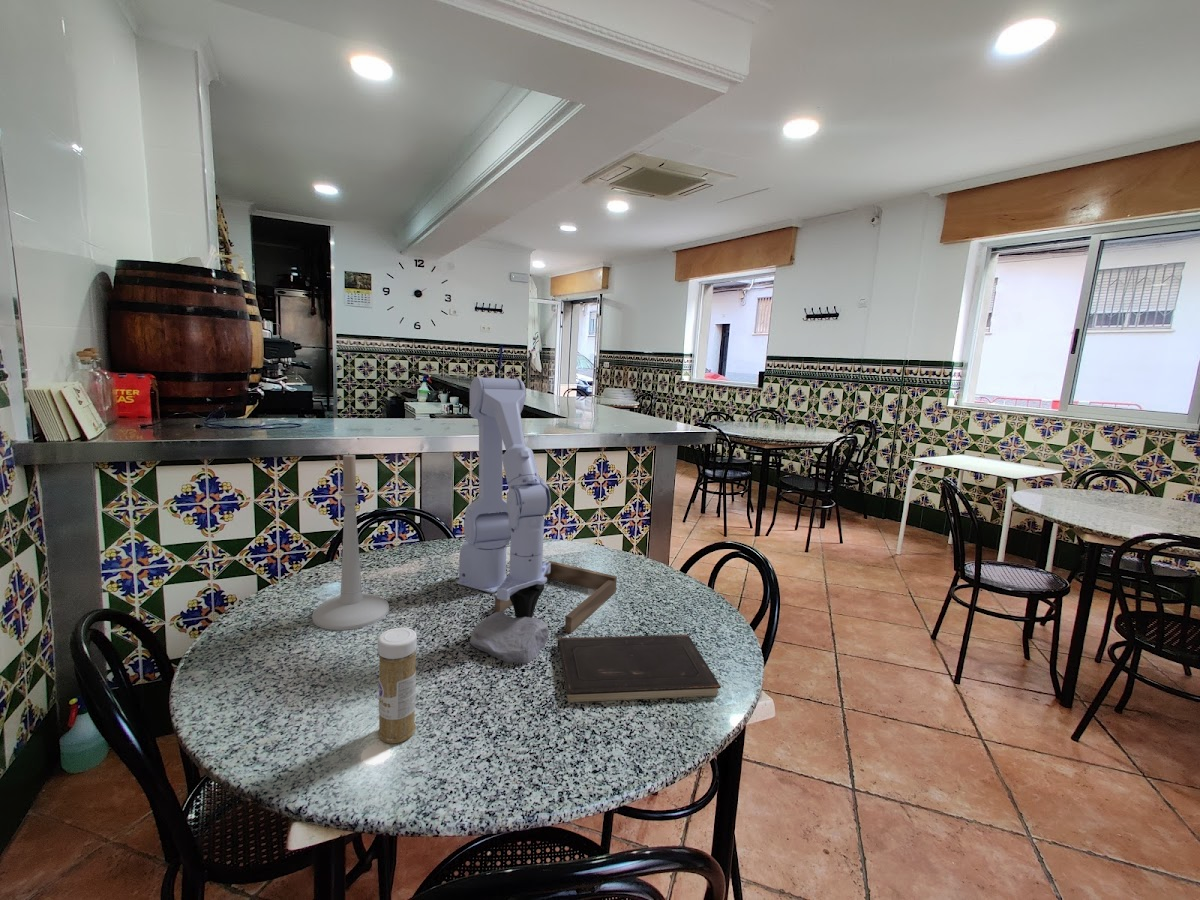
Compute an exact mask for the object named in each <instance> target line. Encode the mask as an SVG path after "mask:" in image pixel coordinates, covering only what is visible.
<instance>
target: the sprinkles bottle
mask: <svg viewBox="0 0 1200 900" xmlns="http://www.w3.org/2000/svg"><path fill="white" fill-rule="evenodd" d="M417 647H418V637H417V633H416V631H414V630H413V629H411V628H407V627H395V628H391V629H388V630H385V631H384V632H382V633H381V634H380V635H379V636H378V638H377V653H378V657H379V660H378V661H379V679H378V716H379V717H378V718H379V720H378V723H379V724H378V725H379V727H378V731H377V732H378V733H377V735H378V738H379V739H380V740H381V741H382V742H383V743H387V744H398V743H402V742H404V741H406V740H408V739H409V738H411V737H412V736H413V735H414V734H415V732H416V727H417V726H416V722H415V721H416V720H415V717H416V716H415V715H416V714H415V712H416V711H415V709H416V697H417V695H416V694H417V691H416V689H417V687H416V685H417V684H416V681H417V680H416V678H417V677H416V675H417V672H416V671H417V670H416V650H417Z"/></svg>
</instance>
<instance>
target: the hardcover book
mask: <svg viewBox="0 0 1200 900" xmlns="http://www.w3.org/2000/svg"><path fill="white" fill-rule="evenodd" d="M557 647H559V648H558V649H559V653H560V654H559V655H560V661H561V667H562V673H563V678H564V679H563V680H564V686H565V691H566V697H567V703H581V702H602V701H603V702H604V701H607V702H608V701H625V700H645V699H646V700H648V699H668V698H669V699H670V698H671V699H672V698H688V697H689V698H691V697H692V698H693V697H710V696H711V697H714V696H715V697H716V696H718V695H719V689H721V688H722V685H721V684H720V683H719V682H718V680H717V678H716V676H715V674H713V672H712V670H711V668H710V667H709V665H708V664H707V662H706V661H705V659H704V657H703V656H702V655H701V653H700V651H699V649H698V648H697V647H696V644H695V643H694V641H693V640H692V638H691V637H690V635H689V634H663V635H662V634H661V635H659V634H658V635H626V636H624V635H623V636H622V635H621V636H592V637H591V636H589V637H588V636H586V637H585V636H584V637H583V636H581V637H557Z"/></svg>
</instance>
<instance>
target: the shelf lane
mask: <svg viewBox="0 0 1200 900" xmlns="http://www.w3.org/2000/svg"><path fill="white" fill-rule="evenodd" d="M546 562H547V563H551V568H550V573H549V574H545V576H544V577H546V578H547V582H548V581H550V580H551V579H552V580H556V581H560V582H564V583H567V584H572V585H575V586H579V587H584V588H587V589H592V590H595V591H594V592H593V593H591V594H590V595H588V597H587V598H585V599H584V600H583V601H582V602H580V603H579V604H578V605H577V606H576V607H575V608H573V610H571V611H570V612H569V613H568V614H566V615H565V620H564V621H565V623H564V632H565V633H568V634H572V633H573V632H574V631H575V630H576V629H577V628H579V627H580V625H582V624H583V623H584V622H586V620H587V619H588V618H590V616H592V614H594V613H595V612H596V611H597V610H599V608H600V607H602V605H604V604H605V603H606V601H608V600H609V599H610V598H611V597H612V596H613V595H614V594H616V593H617V591H616V590H617V580H618V577H617V576H616V575H612V574H607V573H603V572H600V571H599V572H598V571H596V570H591V569H586V568H582V567H578V566H575V565H574V566H573V565H569V564H564V563H560V562H557V561H552V560H549V561H546ZM512 606H513V605H512V602H511V600H510V599H509V600H508V601H504V600H500V599H497V595H495V597H494V613H496V612H504V611H505V610H507V609H509V608H510V607H512Z"/></svg>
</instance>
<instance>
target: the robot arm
mask: <svg viewBox="0 0 1200 900" xmlns="http://www.w3.org/2000/svg"><path fill="white" fill-rule="evenodd" d="M526 393H527V392H526V386H525V384H524V382H523V380H522V379H521V378H520V377H519V378H517V377H516V378H505V377H503V378H501V377H499V378H498V377H481V376H475V377H473V379H472V380H471V384H470V387H469V412H470V417H471V418H473V419H476V420H477V424H478V496H479V497H477V498H476V499H475V500H474V501H473V502H471V503H469V504H468V506H467V507H465V508H466V509H465V515H464V521H463V533H464V539H465V541H464V543H463V544H462V546H461V547H460V551H459V555H458V556H459V558H458V559H459V560H458V561H459V562H458V564H459V565H458V566H459V567H458V580H457V581H456V584H458V585H461V586H464V587H469V588H471V589H476V590H478V591H479V590H480V591H483V592H487V593H490V594H494V593H495V592H496V596H497V599H500V600H504V601H508V600H509V599H510V600H511V602H512V605H511V606H512V607H513V611H514V615H515V616H514V617H515V618H521V617H530V618H533V616H534V613H535V608H536V606H537V602H538V601H539V598H540V597H541V594H542V593H543V592H544V590H545V583H547V582H548V581H547V578H546V577H544V576H545V574H549V573H550V568H551V563H547V562H548V561H543V555H544V554H543V553H544V534H545V533H544V531H545V517H546V516H548V515H549V513H550V511H551V508H552V507H551V506H552V497H551V492H550V487H549V486H548V485H547V483H545V480H544V478H543V477H540V474H539V471H538V466H537V463H536V459H535V456H534V451H533V450H532V449H531V447H528V446H526V443H525V442H526V441H525V437H524V429H523V422H522V417H521V413H522V411H523V409H524V405H525V402H526V395H527V394H526ZM503 445H504V447H505V451H504V452H503ZM503 470H504V473H505V474H504V475H505V479H506V483H507V487H508V490H507V494H506V500H505V499H504V498H503ZM508 545H510V546H509V547H510V549H509V550H510V551H509V573H508V574H507V571H506V569H507V546H508ZM506 575H507V576H506Z"/></svg>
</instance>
